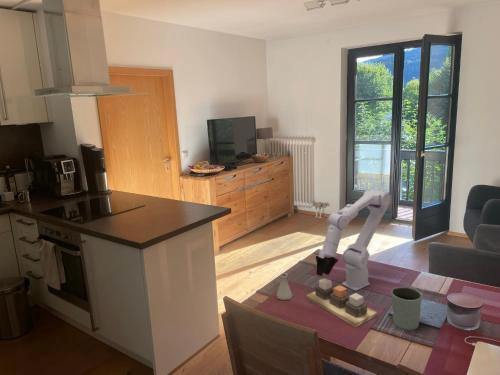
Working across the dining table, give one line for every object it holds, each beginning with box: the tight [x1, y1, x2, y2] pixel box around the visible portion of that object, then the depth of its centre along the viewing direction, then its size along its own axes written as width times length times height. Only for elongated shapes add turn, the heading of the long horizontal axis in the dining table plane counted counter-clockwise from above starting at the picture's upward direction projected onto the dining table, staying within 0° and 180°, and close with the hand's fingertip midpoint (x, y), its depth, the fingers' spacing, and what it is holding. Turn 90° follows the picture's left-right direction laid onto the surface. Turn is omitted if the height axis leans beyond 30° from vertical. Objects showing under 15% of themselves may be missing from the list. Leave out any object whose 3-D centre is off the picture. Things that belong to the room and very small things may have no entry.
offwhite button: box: [318, 277, 333, 291], centre depth 151 cm, size 4×4×3 cm
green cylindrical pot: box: [390, 286, 423, 331], centre depth 133 cm, size 10×10×12 cm
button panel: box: [305, 284, 378, 328], centre depth 146 cm, size 12×26×5 cm, turn 34°
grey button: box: [349, 292, 364, 307], centre depth 138 cm, size 4×4×3 cm
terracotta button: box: [333, 284, 348, 299], centre depth 145 cm, size 4×4×3 cm
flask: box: [275, 272, 294, 301], centre depth 155 cm, size 7×7×10 cm
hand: (322, 274), depth 150 cm, fingers open, 7 cm apart
